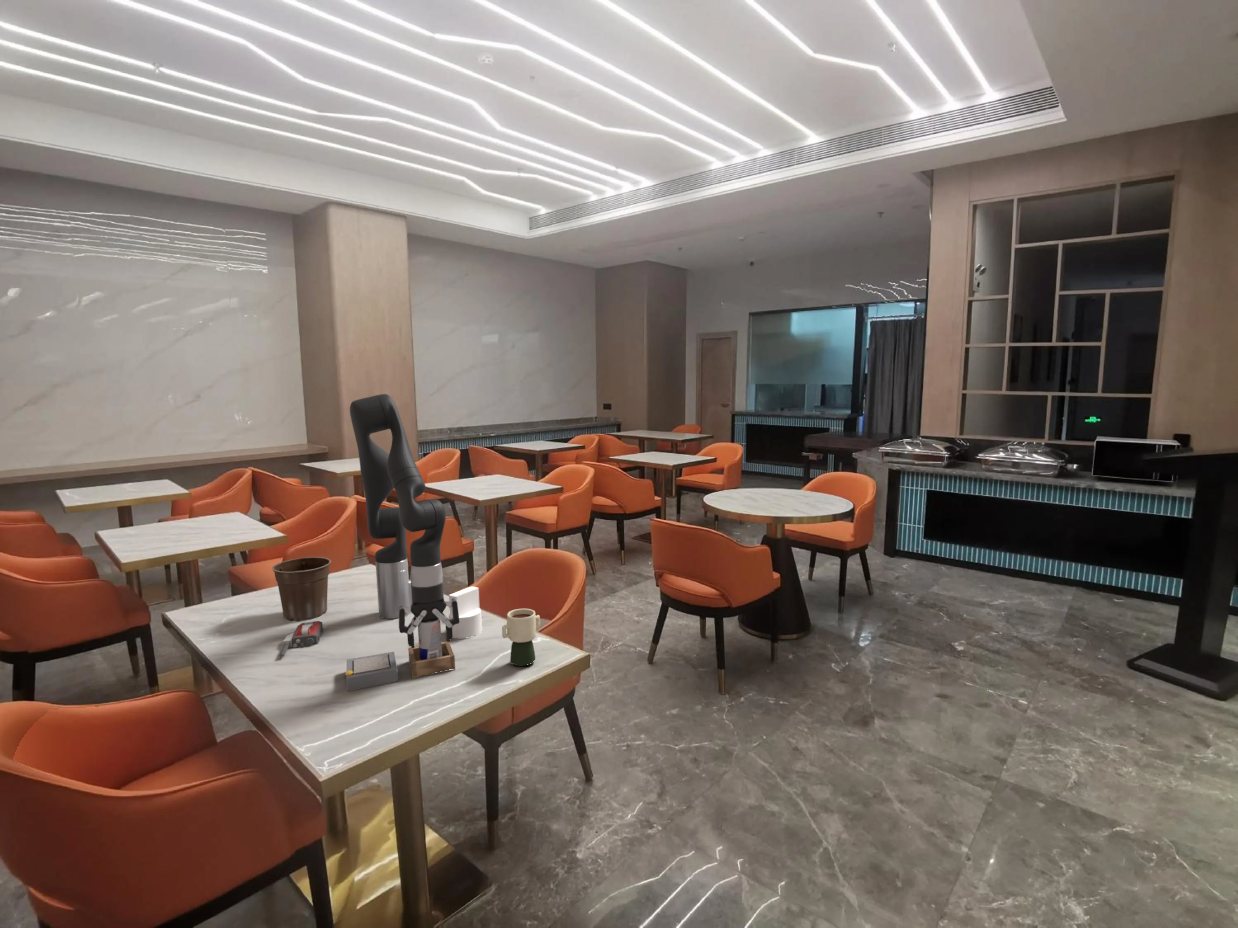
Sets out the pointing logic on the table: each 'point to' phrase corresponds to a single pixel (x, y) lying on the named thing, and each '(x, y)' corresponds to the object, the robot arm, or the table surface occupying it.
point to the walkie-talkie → (303, 636)
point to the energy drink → (430, 639)
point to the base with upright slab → (467, 613)
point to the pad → (371, 664)
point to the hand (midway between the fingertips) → (430, 643)
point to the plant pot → (303, 587)
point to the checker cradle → (371, 674)
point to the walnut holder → (431, 661)
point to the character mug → (521, 635)
